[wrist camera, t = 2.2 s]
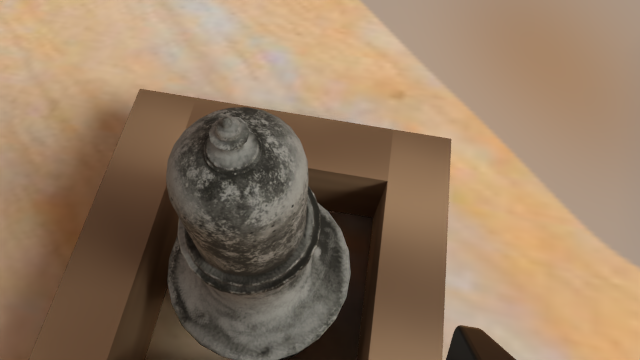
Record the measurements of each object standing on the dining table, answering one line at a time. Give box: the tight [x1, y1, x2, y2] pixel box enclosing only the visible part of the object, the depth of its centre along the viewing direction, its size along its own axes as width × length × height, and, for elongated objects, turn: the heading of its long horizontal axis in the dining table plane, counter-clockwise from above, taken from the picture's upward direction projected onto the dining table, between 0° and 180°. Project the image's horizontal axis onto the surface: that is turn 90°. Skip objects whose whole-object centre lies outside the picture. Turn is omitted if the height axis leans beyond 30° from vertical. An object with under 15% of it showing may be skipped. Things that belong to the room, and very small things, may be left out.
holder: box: [29, 89, 451, 360], centre depth 17 cm, size 12×12×4 cm
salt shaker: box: [166, 107, 351, 360], centre depth 13 cm, size 6×6×12 cm
